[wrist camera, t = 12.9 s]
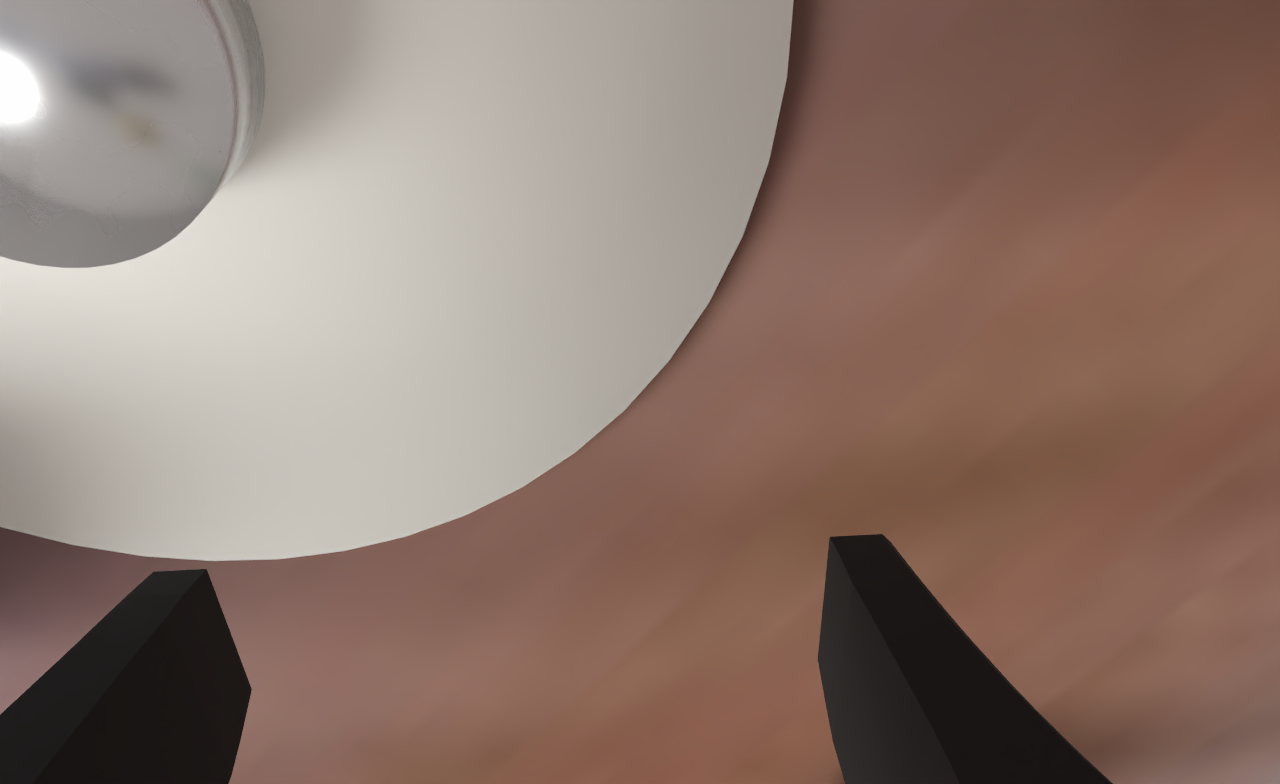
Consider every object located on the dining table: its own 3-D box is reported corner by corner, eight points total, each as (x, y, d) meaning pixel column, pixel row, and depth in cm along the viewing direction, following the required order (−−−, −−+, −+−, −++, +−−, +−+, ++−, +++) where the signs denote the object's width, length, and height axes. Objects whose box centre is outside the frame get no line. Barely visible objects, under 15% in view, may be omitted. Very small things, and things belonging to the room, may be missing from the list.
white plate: (-1384, -817, 12) (-1539, -863, 11) (652, -1475, 10) (659, -1591, 9) (-113, 620, 25) (-137, 649, 24) (842, 448, 23) (851, 473, 22)
